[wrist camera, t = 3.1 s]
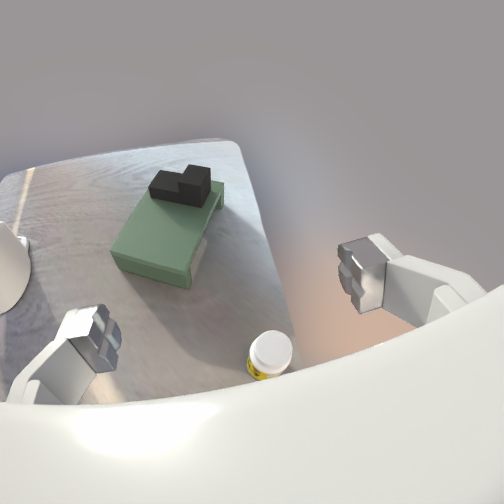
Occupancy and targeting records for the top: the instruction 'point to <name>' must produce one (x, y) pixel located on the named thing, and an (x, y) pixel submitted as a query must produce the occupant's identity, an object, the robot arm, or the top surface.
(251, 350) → the supplement bottle
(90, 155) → the top surface
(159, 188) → the dark stepped block
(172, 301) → the top surface
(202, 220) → the block
